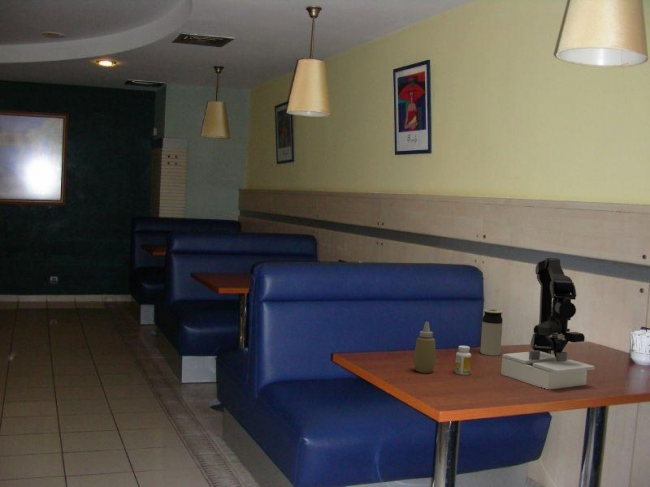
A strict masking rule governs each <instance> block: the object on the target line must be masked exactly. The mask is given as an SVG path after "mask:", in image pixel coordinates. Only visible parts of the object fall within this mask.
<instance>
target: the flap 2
mask: <svg viewBox="0 0 650 487" xmlns="http://www.w3.org/2000/svg"><path fill="white" fill-rule="evenodd" d="M533 366H534V367H537V368H541V369H544V370H547V371H551V372H554V373H557V374H558V373H566V372H575V371H584V370H587V371H591V370H595V369H596V365H591V364H589V363H585V362H582V361H576V360H574V359H570V358H569V359H568V352H567V351H562V352H557V353H556V361H549V362H540V363H533Z"/></svg>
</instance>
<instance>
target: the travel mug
mask: <svg viewBox="0 0 650 487" xmlns="http://www.w3.org/2000/svg"><path fill="white" fill-rule="evenodd" d="M483 312H484V315H483V317H482V321H481V323H482V325H481V339H480V351H479V353H480V354H481V355H484V356H490V357H491V356H493V357H497V356H499V355H501V349H502V348H501V347H502V334H503V320H504V319H503V317H502V314H503V310H501V309H494V308H485V309H483Z"/></svg>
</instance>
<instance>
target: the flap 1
mask: <svg viewBox="0 0 650 487" xmlns="http://www.w3.org/2000/svg"><path fill="white" fill-rule="evenodd" d="M502 358H508V359H511V360H514V361H518V362H521V363H524V364H527V363H537V362H547V361H556V357H555V355H554V354H552V353H551V354H548V353H545V352H541V351H538V350H535V351H534V350H529V351H524V352H523V351H522V352H513V353H503V354H502Z"/></svg>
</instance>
